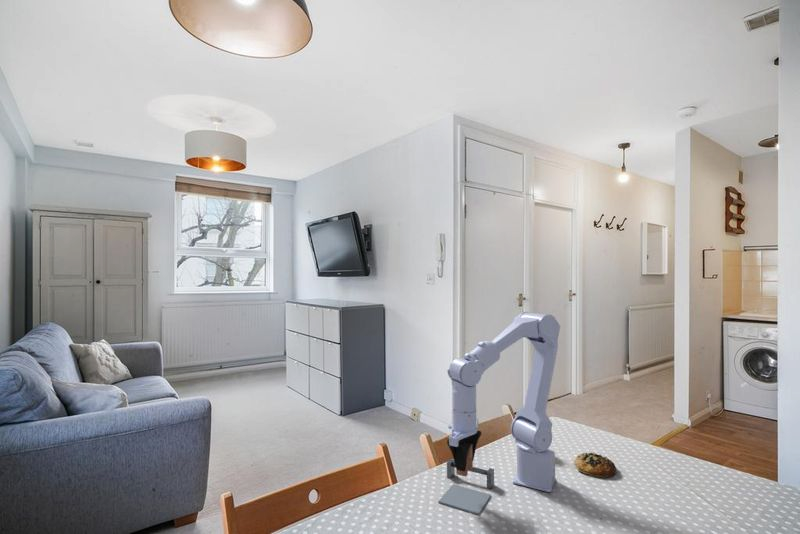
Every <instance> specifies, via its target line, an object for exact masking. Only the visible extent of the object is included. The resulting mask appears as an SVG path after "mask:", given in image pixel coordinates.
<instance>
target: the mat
mask: <svg viewBox="0 0 800 534" xmlns="http://www.w3.org/2000/svg"><path fill="white" fill-rule="evenodd" d="M491 496H492V494H490V493H486V492H483V491H479V490H475V489H471V488H468V487H464V486H461V485H457V484H455V483H452V485H451V486H450V487H449V488H448V489H447V490H446V492H445V493H444V494H443V495H442V496H441V498H440V499H439V500H438V504H440V505H445V506H447V507H451V508H453V509H457V510H460V511H464V512H466V513H467V512H468V513H470V514H474V515H477V516H479V515H480V514H481V512H482V510H483V509H484V507H485V506H486V504H487V503H488V501H489V499H490V498H491Z"/></svg>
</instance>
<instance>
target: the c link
mask: <svg viewBox="0 0 800 534" xmlns="http://www.w3.org/2000/svg"><path fill="white" fill-rule="evenodd" d="M473 463H474V459H473V450H472V445H471V447H470V449H469V452H468V457H467V465H466V470H465V471H460V470H457V469H456V468H455V469H456V470H455V472H456V473H455V474H456V475H458V476H463V477H467V476H468V474H469V473H468V472H469V471H468V470H472V469H473V467H474V466H473V465H474V464H473Z"/></svg>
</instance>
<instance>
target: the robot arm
mask: <svg viewBox="0 0 800 534" xmlns="http://www.w3.org/2000/svg"><path fill="white" fill-rule="evenodd" d="M560 329H561V325H560V323H559V322H558V320H557V319H556V317H555V316H554V315H552V314H545V313H544V314H543V313H536V312H535V313H533V312H529V311H522V312H520V313H519V315H517V316H515V317H514V318H513V322H512V323H511V324H510V325H508V326H507V327H506V328H505V329H504V330H503V331H502V332H500V333H499V334H498V335H497V336H496V337H495V338H493V340H491V341H489V340H485V341H479V342H478V343H477V346H476V347H474V348H473V349H472V350H471V351H469V352H466V353H465V354H463V357H462V358H461V357H460V358H458V357H457V358H456V359H454V360H453V361H451V363H450V365H449V368H448V369H447V375H448V377H449V378H450V380H451V386H452V423H449V424H448V426H447V427H448V429H449V430H450V431H451V432H450V435H449V437H448V439H446V440H447V441H446V444H447V446H448V447H449V450H450V452H451V453H452V454H451V455H452V457H453V458H452V459H454V462H455V466H456V468H455V469H457V470H460V471H465V470H466V465H467V457H468V452H469V449H470V447H471V445H472V450H473V460H474V458H475V453H476V449H477V445H478V442H479V439H480V438H481V436H482V431H480V430H478V427H479V418H477V384H479V382H480V381H481V380H482V377H483V374H484V373H485V371H487V370H488V369H489V368H491V367H492V366H493V365H494V364H495V363H497V362H498V361H499V360H500V358H501V352H503V351H505V350H506V349H508V348H509V347H511V346H512V345H514V344H515V343H517V342H518V341H519V340H521V339H522V338H526V339H527V340H528V341H529V342H530V343H531V344H532V346H533V348H534V350H535V351H534V356H533V361H532V365H531V366H532V367H531V372H530V375H529V382H528V387H527V390H526V396H525V401H524V406H523V407H521V408H519V409H518V410H516V413H515V417H514V418H513V420H512V421H511V424H510V434H511V436H512V437H513V439H514V440H515V441H514V443H515V444H516V474H515V476H514V478H513V480H512V484H515V485H519V486H523V487H527V488H530V489H533V490H539V491H543V492H546V493H551V492H552V489H553V488H554V484H555V482H556V480H557V479H556V455H555V451H554V450H552V449H549V448H550V446H551V445H552V442H553V432H552V431H553V430H552V429H553V428H552V427H553V423H552V420H551V419H550V418H549V416H548V414H547V413H546V412H547V406H548V401H549V395H550V391H551V390H550V389H551V387H552V386H551V385H552V380H553V375H554V370H555V363H556V359H557V355H558V350H559V349H558V348H559V341H558V340H559V336H560V335H559V334H560Z"/></svg>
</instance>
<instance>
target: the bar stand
mask: <svg viewBox="0 0 800 534" xmlns="http://www.w3.org/2000/svg"><path fill="white" fill-rule="evenodd" d="M455 469H456V466H455V462H454V458H449V460H447V462H446V478H449V479H452V478H453V477H454V476H455V474H456V473H455V472H456V470H455ZM468 472H471V473H475V474H479V475H484V476H486V489H489V490H492V489H493V487H494V485H495V469H494V468H488V469H487V470H486V469H483V468H479V467H476V466H473V469H472V470H468Z"/></svg>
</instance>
